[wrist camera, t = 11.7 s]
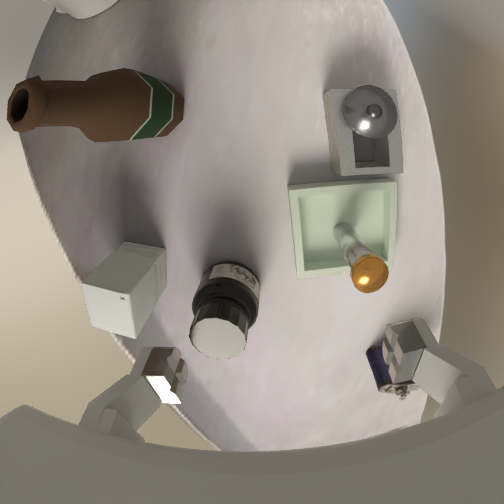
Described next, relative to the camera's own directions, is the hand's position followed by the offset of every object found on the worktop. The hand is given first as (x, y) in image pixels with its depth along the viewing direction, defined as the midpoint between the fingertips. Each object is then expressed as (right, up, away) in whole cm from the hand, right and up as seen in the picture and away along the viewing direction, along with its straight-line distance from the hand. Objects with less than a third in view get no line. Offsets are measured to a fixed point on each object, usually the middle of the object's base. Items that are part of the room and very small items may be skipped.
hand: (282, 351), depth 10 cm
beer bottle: (-13, +22, +21) cm, 34 cm away
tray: (+11, +8, +26) cm, 30 cm away
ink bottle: (-4, -1, +32) cm, 32 cm away
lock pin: (+11, +6, +26) cm, 29 cm away
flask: (+25, -16, +36) cm, 47 cm away
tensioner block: (+12, +19, +21) cm, 31 cm away
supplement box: (-18, +2, +31) cm, 36 cm away
